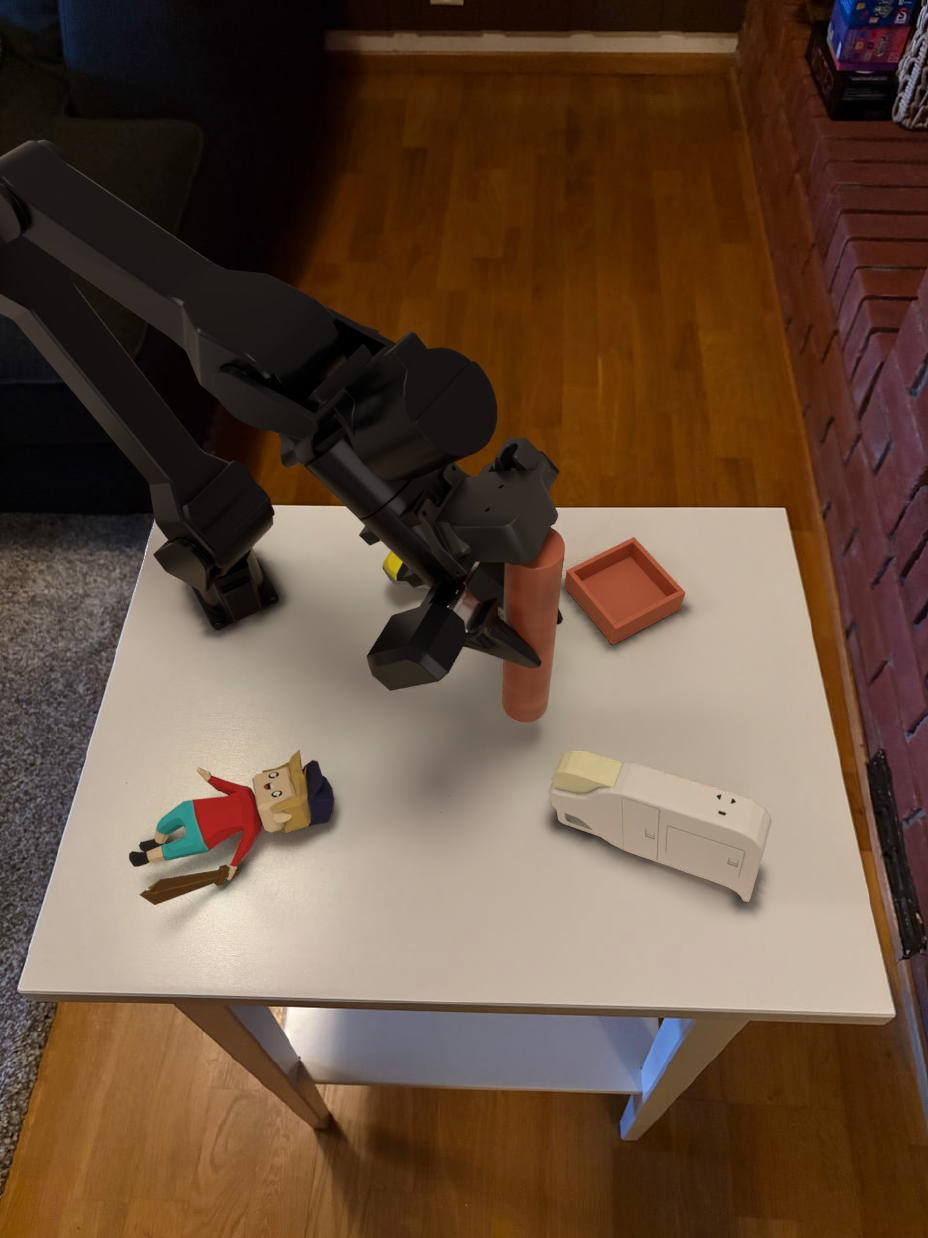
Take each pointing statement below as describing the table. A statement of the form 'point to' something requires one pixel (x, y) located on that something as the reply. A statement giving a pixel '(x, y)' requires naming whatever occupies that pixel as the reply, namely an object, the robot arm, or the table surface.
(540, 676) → the terracotta peg
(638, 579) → the terracotta bin
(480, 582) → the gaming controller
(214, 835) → the toy
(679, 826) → the white device casing
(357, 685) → the table surface
